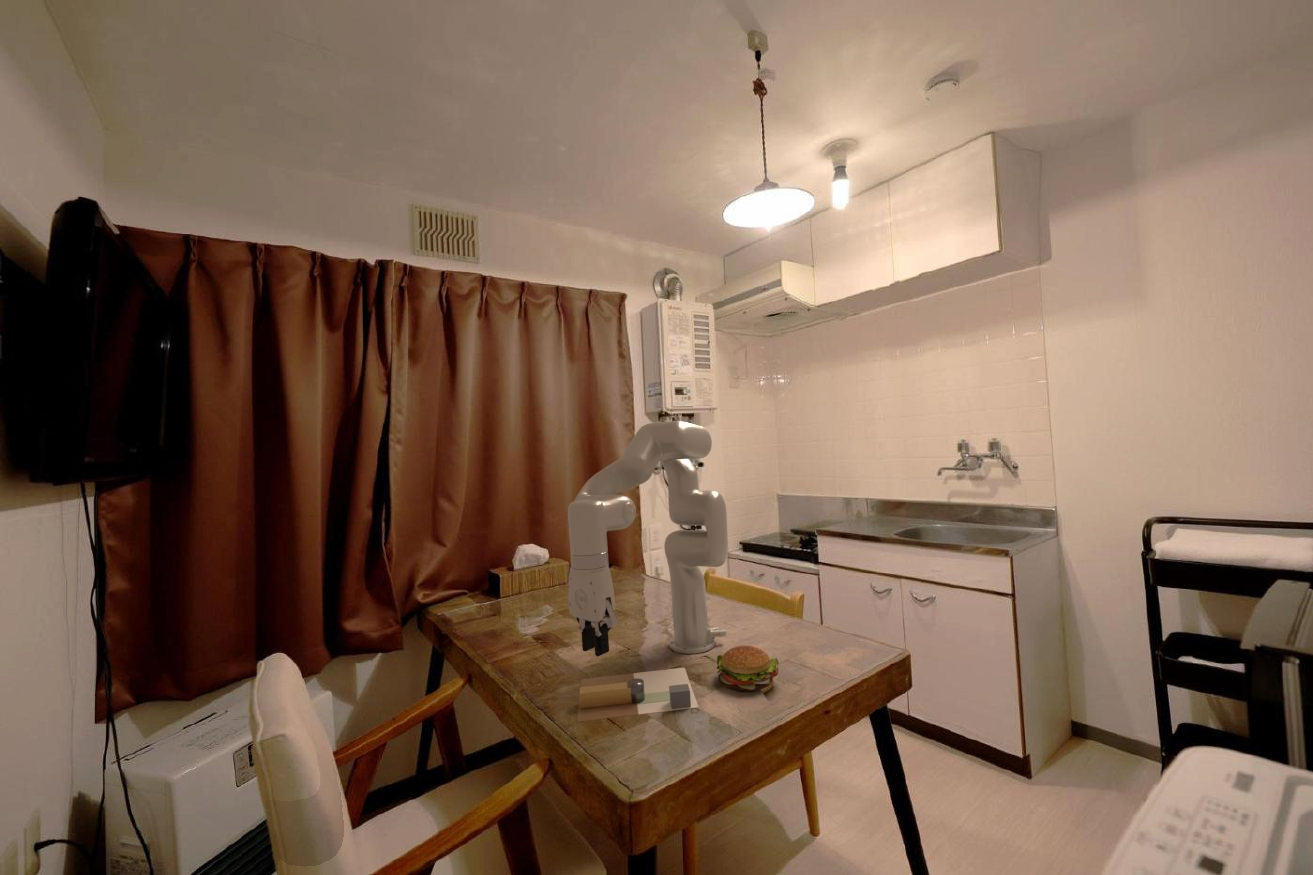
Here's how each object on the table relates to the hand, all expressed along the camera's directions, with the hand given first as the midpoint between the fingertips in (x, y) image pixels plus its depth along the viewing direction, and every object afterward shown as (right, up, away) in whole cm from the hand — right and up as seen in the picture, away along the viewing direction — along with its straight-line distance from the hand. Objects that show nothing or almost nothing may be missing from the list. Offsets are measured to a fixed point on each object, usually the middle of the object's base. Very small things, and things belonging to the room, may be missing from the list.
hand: (595, 650), depth 103 cm
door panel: (+8, -15, +10) cm, 20 cm away
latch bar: (+3, -14, +6) cm, 15 cm away
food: (+34, -13, +14) cm, 39 cm away
